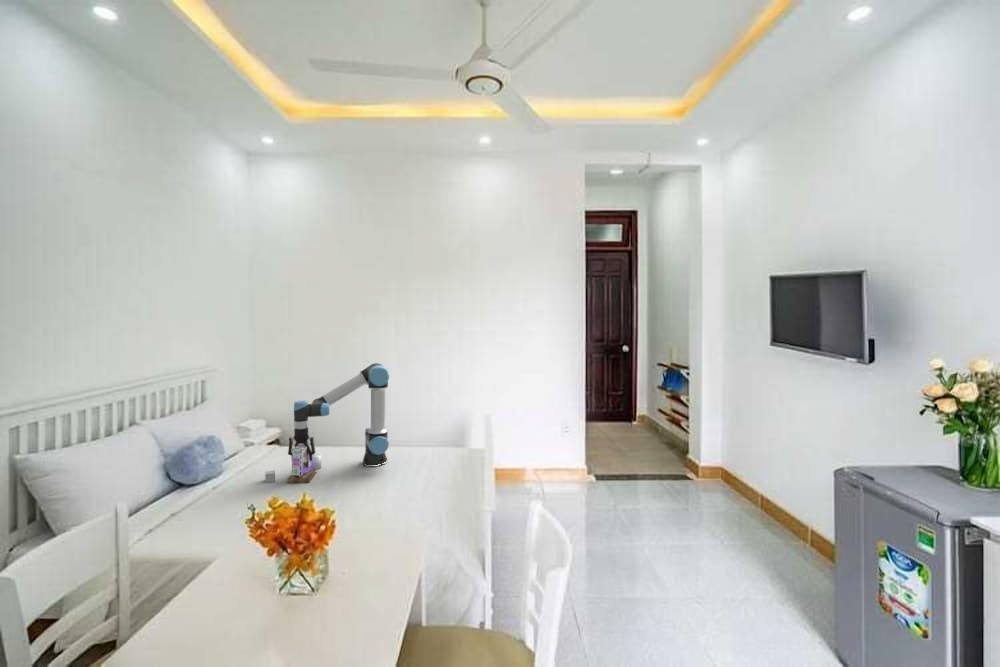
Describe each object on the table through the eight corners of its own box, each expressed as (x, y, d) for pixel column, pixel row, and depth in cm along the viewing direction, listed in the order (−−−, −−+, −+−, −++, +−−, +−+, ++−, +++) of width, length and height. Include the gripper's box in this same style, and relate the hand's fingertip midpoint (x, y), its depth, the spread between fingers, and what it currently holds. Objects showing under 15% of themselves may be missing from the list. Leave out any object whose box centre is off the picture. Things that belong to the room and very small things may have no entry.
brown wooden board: (316, 472, 306) (316, 467, 306) (308, 482, 289) (308, 477, 289) (296, 473, 305) (296, 468, 305) (286, 483, 288) (286, 478, 288)
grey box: (274, 478, 296) (274, 470, 296) (275, 481, 292) (274, 473, 291) (265, 480, 294) (265, 471, 294) (265, 482, 289) (265, 474, 289)
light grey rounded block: (322, 466, 318) (322, 453, 318) (319, 470, 311) (319, 457, 311) (311, 466, 318) (310, 454, 317) (307, 470, 311) (307, 457, 310)
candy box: (300, 476, 290) (301, 448, 289) (291, 475, 291) (291, 447, 290) (313, 469, 303) (313, 442, 303) (304, 468, 304) (304, 441, 304)
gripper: (320, 425, 300) (321, 463, 301) (285, 426, 298) (286, 464, 300) (317, 428, 292) (318, 467, 294) (280, 429, 291) (281, 468, 292)
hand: (302, 466), depth 297 cm, fingers open, 7 cm apart
